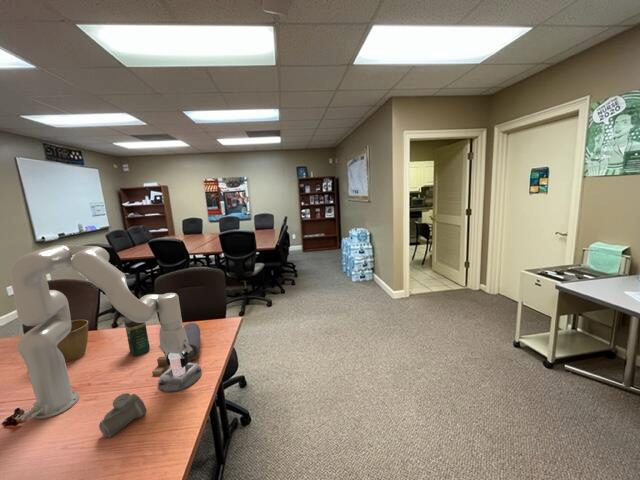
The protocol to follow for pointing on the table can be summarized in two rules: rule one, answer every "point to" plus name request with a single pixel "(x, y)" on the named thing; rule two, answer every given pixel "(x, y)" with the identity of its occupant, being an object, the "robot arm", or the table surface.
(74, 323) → the plant pot
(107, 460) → the table surface
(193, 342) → the bluetooth speaker
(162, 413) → the table surface
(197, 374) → the gray windowed housing
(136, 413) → the pipe fitting
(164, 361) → the walnut bracket
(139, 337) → the coffee jar
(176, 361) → the beverage cup
